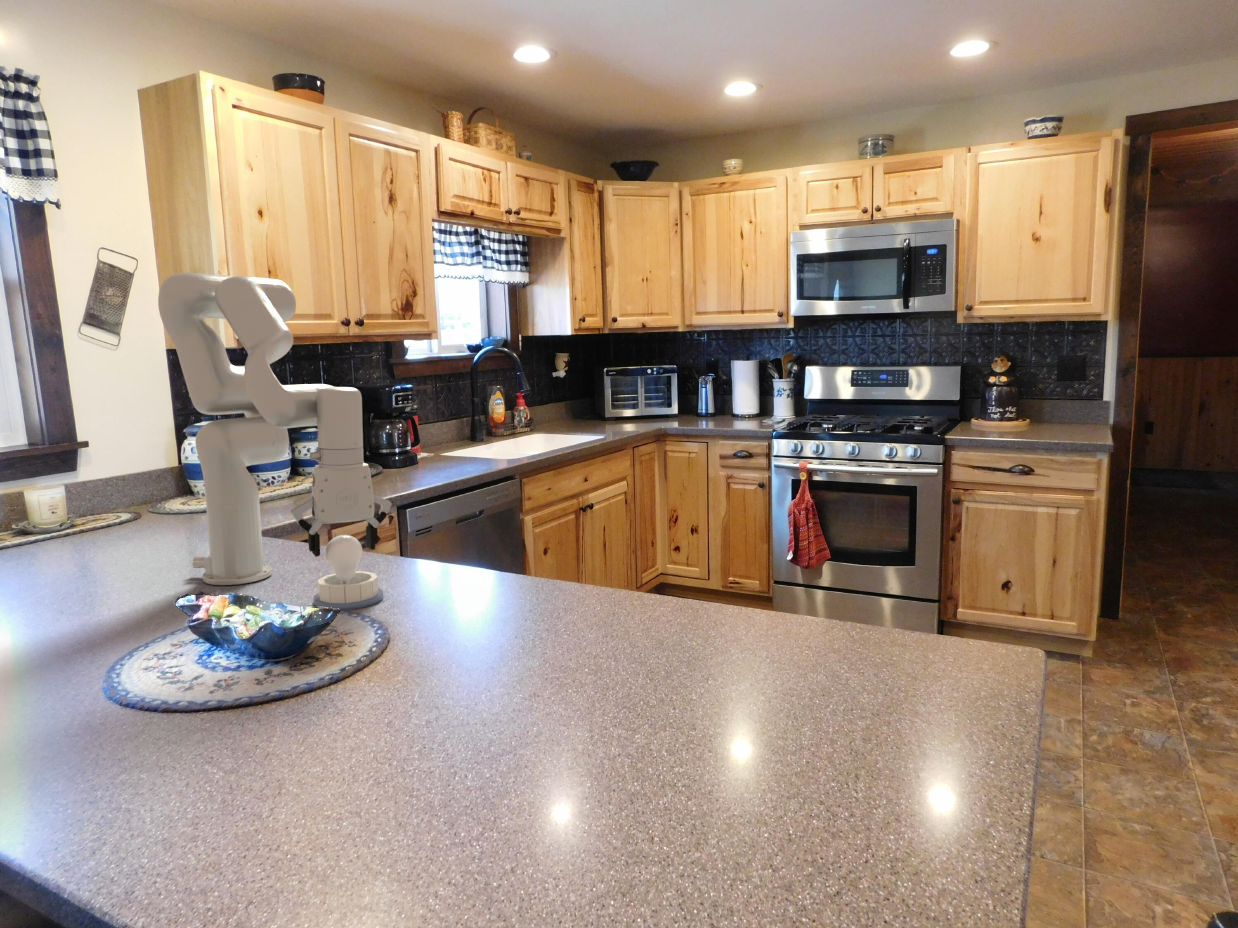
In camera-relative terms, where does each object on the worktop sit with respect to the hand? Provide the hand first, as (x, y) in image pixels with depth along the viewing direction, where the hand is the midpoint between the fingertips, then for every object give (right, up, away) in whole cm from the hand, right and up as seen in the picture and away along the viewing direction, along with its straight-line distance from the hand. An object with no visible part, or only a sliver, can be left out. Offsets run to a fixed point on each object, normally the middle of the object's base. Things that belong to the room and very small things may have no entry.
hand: (343, 551), depth 146 cm
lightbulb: (0, -8, +1) cm, 8 cm away
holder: (+1, -9, +1) cm, 9 cm away
